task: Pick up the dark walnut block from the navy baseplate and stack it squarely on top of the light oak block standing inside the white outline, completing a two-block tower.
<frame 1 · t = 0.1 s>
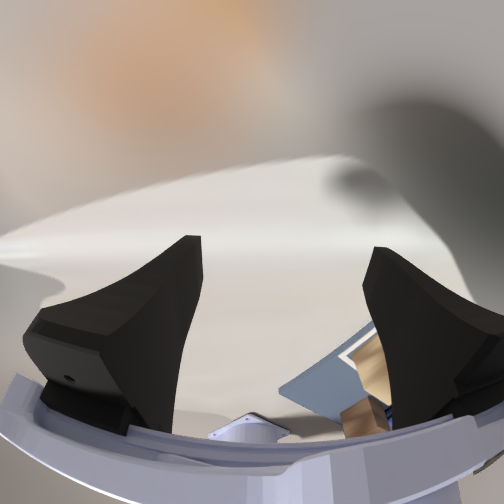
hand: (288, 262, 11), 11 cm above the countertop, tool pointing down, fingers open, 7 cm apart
coffee can: (473, 424, 39), on the countertop
walnut block: (361, 409, 29), point 1 cm above the countertop, touching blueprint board
oak base block: (384, 349, 25), point 1 cm above the countertop, touching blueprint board
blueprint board: (370, 378, 28), on the countertop
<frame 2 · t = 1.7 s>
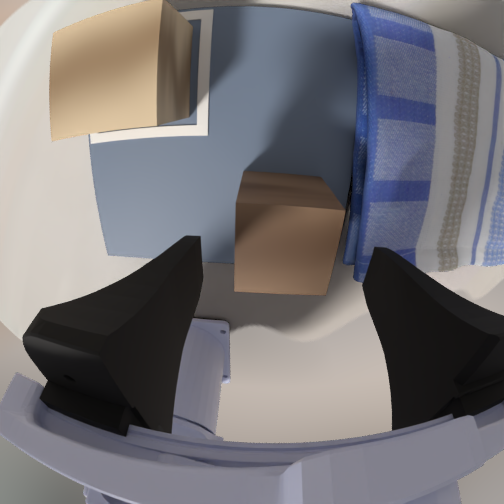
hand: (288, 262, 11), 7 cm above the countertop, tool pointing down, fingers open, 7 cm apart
walnut block: (279, 209, 16), point 1 cm above the countertop, touching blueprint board
oak base block: (143, 75, 12), point 1 cm above the countertop, touching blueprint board
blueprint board: (213, 137, 14), on the countertop
dish towel: (483, 160, 13), on the countertop, touching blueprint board
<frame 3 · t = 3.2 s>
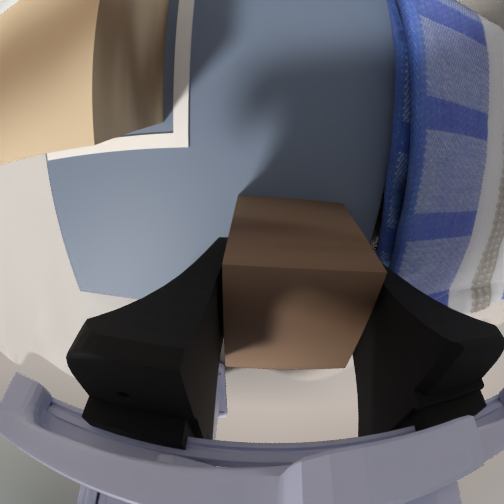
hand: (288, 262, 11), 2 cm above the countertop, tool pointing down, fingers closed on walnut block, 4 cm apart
walnut block: (286, 244, 12), point 1 cm above the countertop, touching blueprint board, gripper
oak base block: (104, 69, 8), point 1 cm above the countertop, touching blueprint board
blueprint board: (198, 148, 11), on the countertop
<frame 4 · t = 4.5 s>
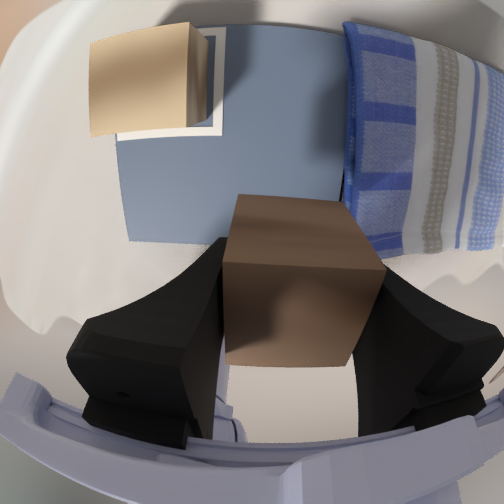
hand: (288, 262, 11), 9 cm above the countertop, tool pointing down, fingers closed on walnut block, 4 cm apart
walnut block: (286, 243, 12), point 8 cm above the countertop, touching gripper
oak base block: (166, 82, 14), point 1 cm above the countertop, touching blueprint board
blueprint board: (226, 136, 17), on the countertop
dish towel: (464, 155, 16), on the countertop, touching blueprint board
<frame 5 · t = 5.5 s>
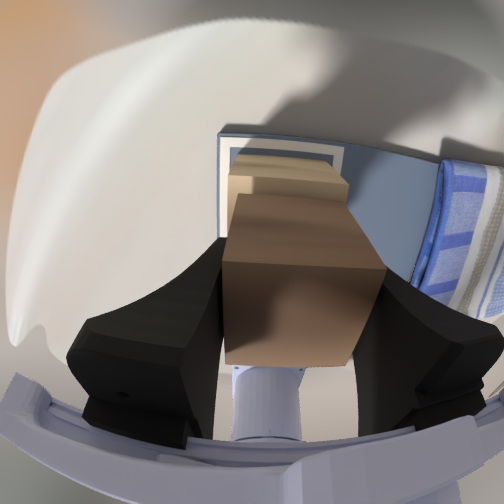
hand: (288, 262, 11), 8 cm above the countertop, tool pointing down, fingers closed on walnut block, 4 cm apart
walnut block: (286, 243, 12), point 7 cm above the countertop, touching gripper
oak base block: (278, 197, 17), point 1 cm above the countertop, touching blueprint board
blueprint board: (325, 248, 20), on the countertop
dish towel: (495, 247, 19), on the countertop, touching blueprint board
when the fingers open (8 cm above the countertop, at t = 6.3 s): walnut block stays where it is, resting on oak base block.
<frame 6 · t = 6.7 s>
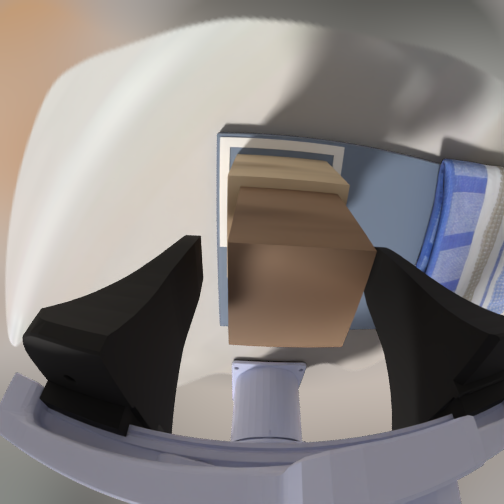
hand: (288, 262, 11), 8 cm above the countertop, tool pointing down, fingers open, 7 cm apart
walnut block: (285, 233, 13), point 6 cm above the countertop, touching oak base block
oak base block: (278, 198, 17), point 1 cm above the countertop, touching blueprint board, walnut block
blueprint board: (326, 248, 20), on the countertop
dish towel: (495, 247, 19), on the countertop, touching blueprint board
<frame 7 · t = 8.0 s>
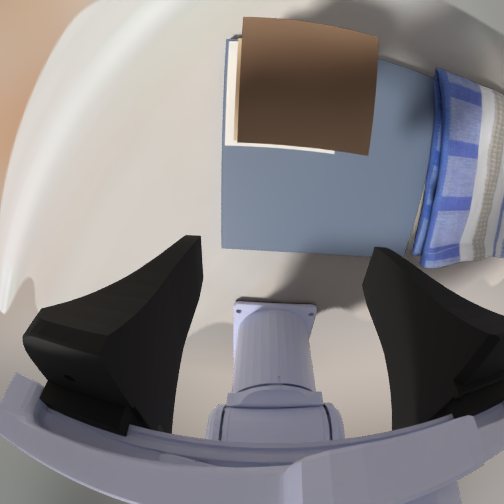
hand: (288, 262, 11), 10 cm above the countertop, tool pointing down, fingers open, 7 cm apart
walnut block: (293, 90, 11), point 6 cm above the countertop, touching oak base block
oak base block: (284, 94, 16), point 1 cm above the countertop, touching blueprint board, walnut block
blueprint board: (333, 154, 18), on the countertop
dish towel: (502, 179, 17), on the countertop, touching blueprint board
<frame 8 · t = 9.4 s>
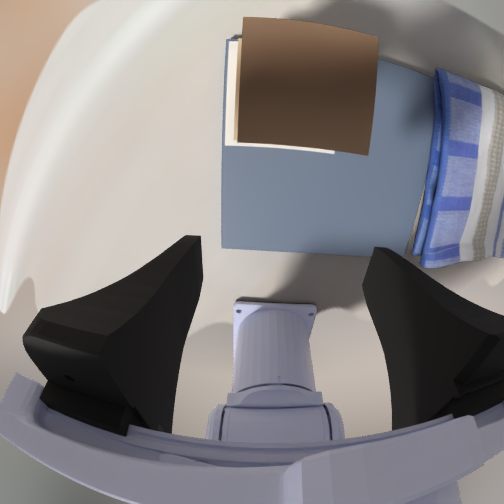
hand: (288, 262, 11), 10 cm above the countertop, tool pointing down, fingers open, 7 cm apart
walnut block: (293, 90, 11), point 6 cm above the countertop, touching oak base block
oak base block: (284, 94, 16), point 1 cm above the countertop, touching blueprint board, walnut block
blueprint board: (333, 154, 18), on the countertop
dish towel: (502, 179, 17), on the countertop, touching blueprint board
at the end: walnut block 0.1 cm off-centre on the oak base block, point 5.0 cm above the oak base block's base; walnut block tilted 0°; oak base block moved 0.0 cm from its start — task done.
